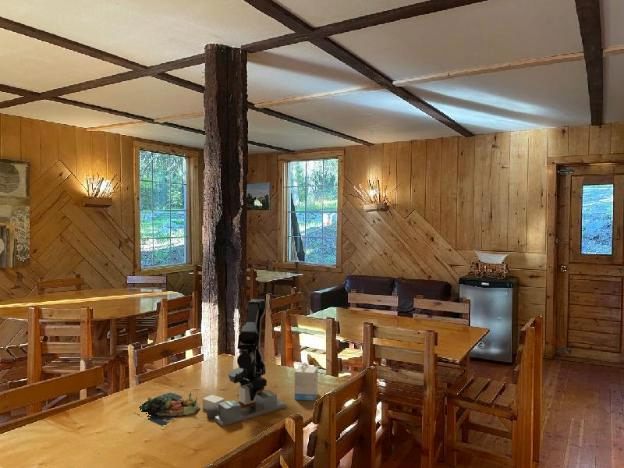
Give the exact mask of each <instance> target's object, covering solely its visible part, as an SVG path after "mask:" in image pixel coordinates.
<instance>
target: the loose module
mask: <svg viewBox="0 0 624 468" xmlns="http://www.w3.org/2000/svg"><path fill="white" fill-rule="evenodd" d="M246 385H249V384H245V385H242V386H241V385H239V387H238V401H239V402H240V403H241V404H243V405H245V406H246V405H250V404H253V403H256V396H255V398H254V400H253V401H251V399H250V391H249V388H248V387H247V386H246ZM257 393H259V391H258V392H257Z"/></svg>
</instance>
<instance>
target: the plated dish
mask: <svg viewBox="0 0 624 468" xmlns="http://www.w3.org/2000/svg"><path fill="white" fill-rule="evenodd" d="M155 397H156V398H155ZM155 397H150V396H149V397H147V401H144V402H145V403H144V404H142V406H140V407H139V408H140V410H141V409H142V411H141V412H148V414H149V415H151V416H149V415H148V416H147V417H150V418H148V420H147V421H149V420H150V421H149V422H152V423H153V424H157V425H158V426H161V427H164V426H163V425H165V426H167V425H168V424H170V421H173V420H174V421H175V419H176V418H179V417H185V416H190V415H193V414H195V413H197V412H198V411H200V409H201V405H200V404H199V403H198V396H196V397H195V398H194V397H192V393H191V392H190V393H189V394H188V398H187V399H183V396H182V395H179V394H177V393H173V392H167V393H164V394H161V395H158V396H155ZM146 414H147V413H146Z"/></svg>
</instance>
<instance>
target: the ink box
mask: <svg viewBox="0 0 624 468" xmlns="http://www.w3.org/2000/svg"><path fill="white" fill-rule="evenodd" d="M318 369H319V367H318V366H312V365H311V366H309V364H307V362H305V361H304V363H303V364H302V365H299V366H297V368H296V369H295V371H294V400H297V401H312V402H314V401H315V399H316V398H317V396H318V394H319V392H318V391H319V387H318V386H319V385H318V384H319V375H318V374H319V373H318V372H319V370H318Z"/></svg>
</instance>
